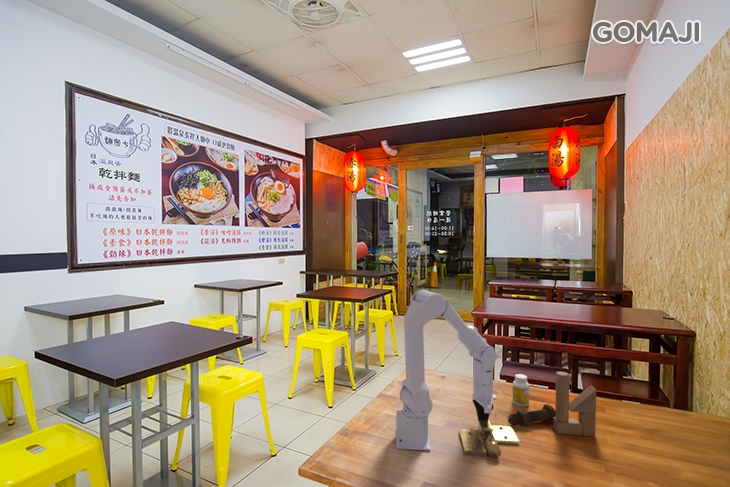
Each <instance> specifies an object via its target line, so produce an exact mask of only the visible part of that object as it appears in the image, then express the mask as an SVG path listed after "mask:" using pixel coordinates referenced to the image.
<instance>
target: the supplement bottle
mask: <svg viewBox="0 0 730 487" xmlns="http://www.w3.org/2000/svg"><path fill="white" fill-rule="evenodd" d="M512 402H513V404H514V405H516V406H520V407H527V405H528V406H529V404H530V384H529V382H528V376H527V375H526V374H522V373H517V374H515V375H514V381H512Z"/></svg>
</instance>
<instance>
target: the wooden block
mask: <svg viewBox="0 0 730 487" xmlns="http://www.w3.org/2000/svg"><path fill="white" fill-rule="evenodd" d="M554 410H555V417H553V424H552V426H553V427H552V428H553V430H554V431H555V432H556V434H558V435H571V436H584V437H596V416H597V414H596V413H597V389H596V388H595V387H594V386H592V385H591V384H590V385H589V386H588V387H587V388H585V389H584V390H583V391H582V392H580V393H579V395H577V396H576V397H574V399H572V400H571V401H570V374H569V373H568V372H565V371H556V372H555V408H554ZM570 412H573V413H578V417H577V419H575V418H572V417H569V415H570Z"/></svg>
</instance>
